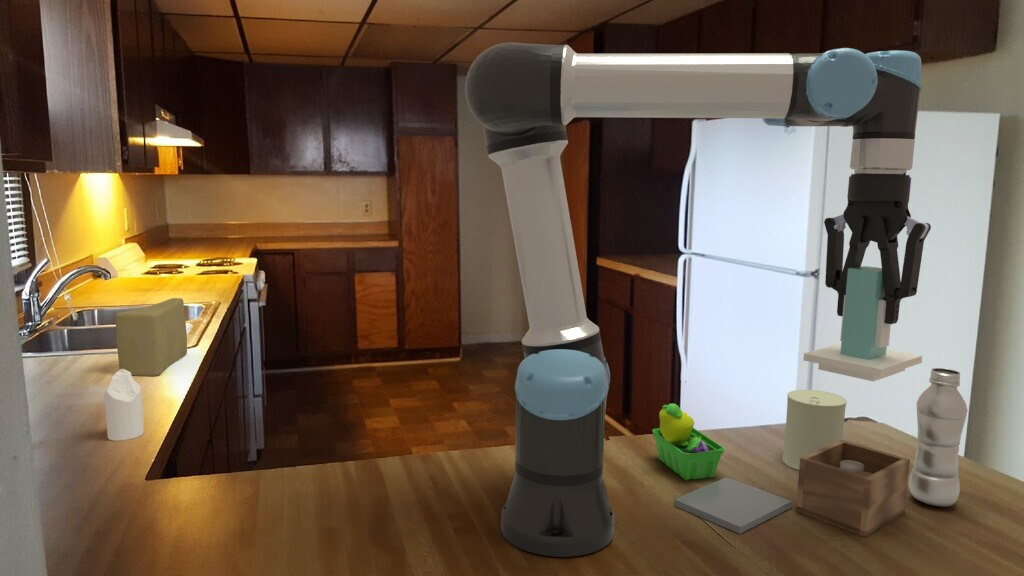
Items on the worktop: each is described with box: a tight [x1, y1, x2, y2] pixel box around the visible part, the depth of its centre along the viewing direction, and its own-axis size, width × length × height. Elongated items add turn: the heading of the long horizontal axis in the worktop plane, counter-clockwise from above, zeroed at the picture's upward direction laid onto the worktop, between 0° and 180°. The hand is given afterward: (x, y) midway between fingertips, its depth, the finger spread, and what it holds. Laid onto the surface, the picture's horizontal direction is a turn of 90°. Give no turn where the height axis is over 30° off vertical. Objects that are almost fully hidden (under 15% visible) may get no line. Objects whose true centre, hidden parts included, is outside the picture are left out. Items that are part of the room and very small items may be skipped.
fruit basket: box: [651, 403, 725, 481], centre depth 122 cm, size 11×9×11 cm
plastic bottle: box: [908, 367, 968, 508], centre depth 110 cm, size 6×7×20 cm
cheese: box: [114, 297, 188, 377], centre depth 182 cm, size 22×10×15 cm, turn 177°
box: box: [795, 440, 911, 538], centre depth 107 cm, size 12×10×8 cm
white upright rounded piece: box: [103, 369, 145, 442], centre depth 133 cm, size 6×12×6 cm
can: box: [781, 389, 847, 471], centre depth 125 cm, size 9×9×12 cm
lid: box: [802, 265, 923, 382], centre depth 103 cm, size 13×11×14 cm
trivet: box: [673, 476, 793, 535], centre depth 109 cm, size 13×11×1 cm
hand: (864, 342), depth 104 cm, fingers closed on lid, 4 cm apart
